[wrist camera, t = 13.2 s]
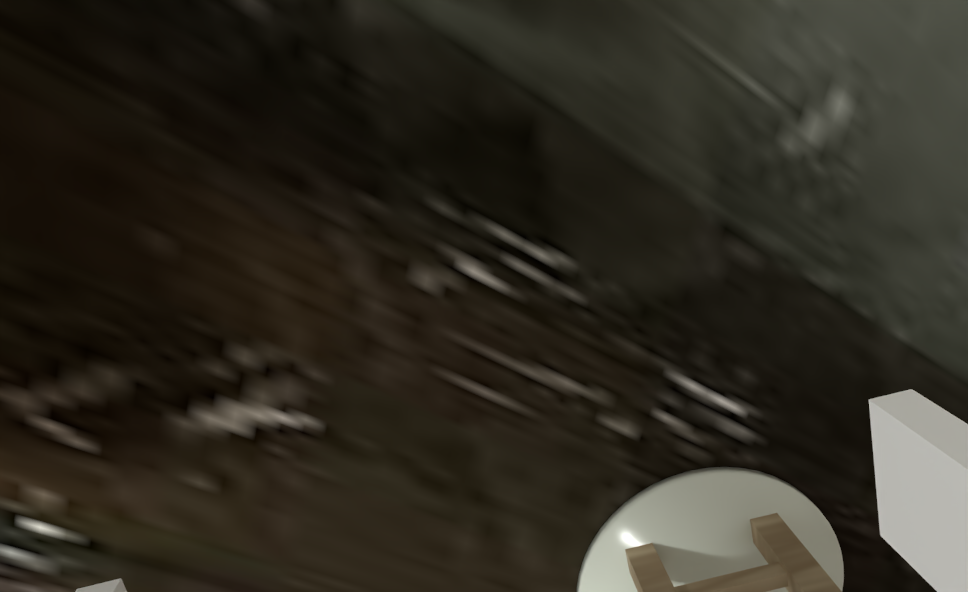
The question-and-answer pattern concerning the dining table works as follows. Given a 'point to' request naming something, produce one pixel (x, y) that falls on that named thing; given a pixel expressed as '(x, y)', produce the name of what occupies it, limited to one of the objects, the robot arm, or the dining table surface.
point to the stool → (746, 587)
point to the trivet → (705, 529)
